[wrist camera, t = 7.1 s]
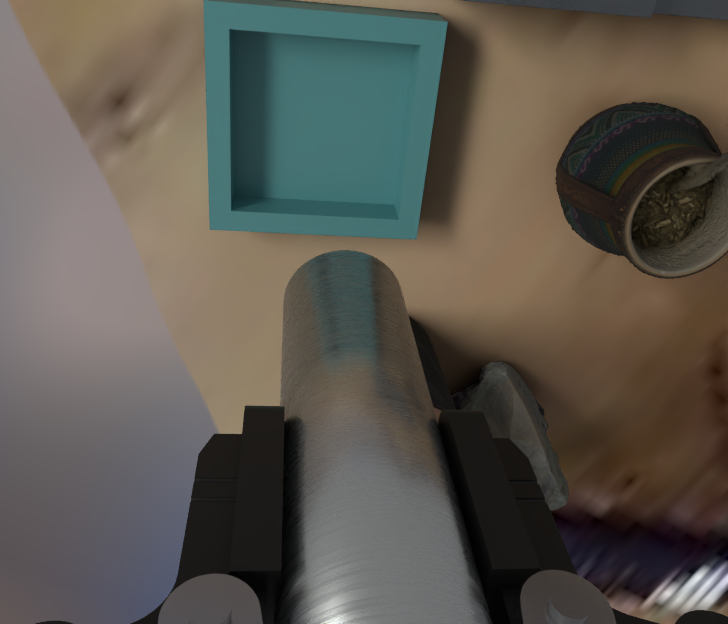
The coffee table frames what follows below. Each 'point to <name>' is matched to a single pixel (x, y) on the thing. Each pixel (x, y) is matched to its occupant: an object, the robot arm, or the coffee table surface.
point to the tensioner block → (631, 7)
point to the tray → (319, 116)
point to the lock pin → (365, 461)
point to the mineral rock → (517, 424)
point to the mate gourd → (647, 188)
